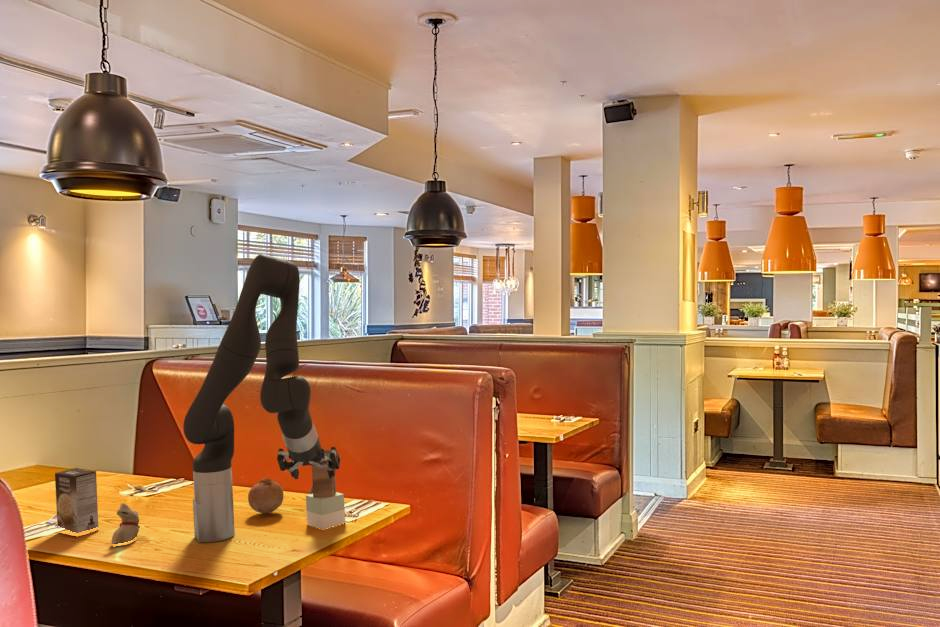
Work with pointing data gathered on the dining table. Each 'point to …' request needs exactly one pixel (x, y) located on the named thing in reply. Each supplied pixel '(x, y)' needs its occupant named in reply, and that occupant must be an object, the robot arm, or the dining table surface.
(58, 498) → the coffee box
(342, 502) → the tower mid
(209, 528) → the robot arm
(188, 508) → the dining table surface
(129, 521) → the chocolate bunny
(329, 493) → the column
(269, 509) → the onion
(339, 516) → the tower base
